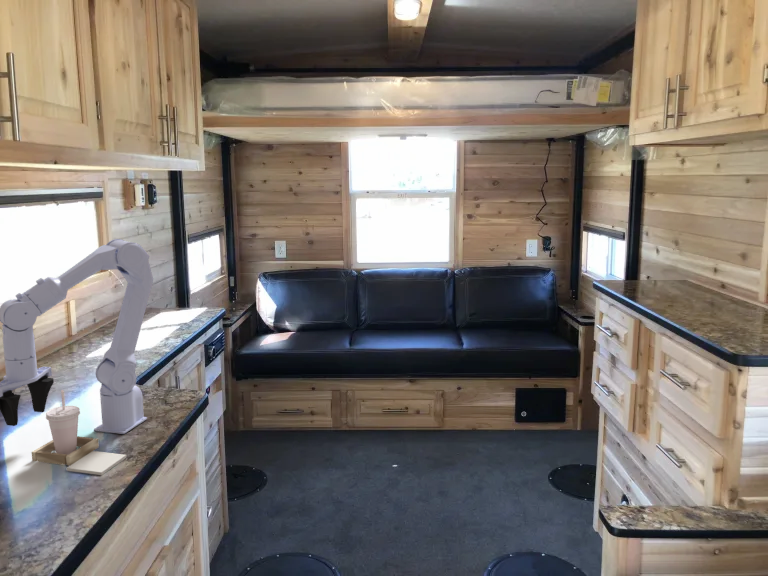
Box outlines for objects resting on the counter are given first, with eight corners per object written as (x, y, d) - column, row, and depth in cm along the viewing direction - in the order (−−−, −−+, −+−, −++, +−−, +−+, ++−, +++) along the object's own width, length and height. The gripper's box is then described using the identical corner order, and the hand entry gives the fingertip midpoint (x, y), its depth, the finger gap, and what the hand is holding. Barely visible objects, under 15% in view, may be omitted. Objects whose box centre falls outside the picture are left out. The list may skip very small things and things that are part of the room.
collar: (63, 443, 137) (62, 434, 136) (99, 447, 135) (98, 438, 135) (32, 461, 128) (31, 452, 128) (70, 465, 126) (69, 456, 126)
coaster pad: (93, 453, 132) (92, 450, 132) (126, 457, 130) (126, 454, 130) (66, 470, 124) (66, 467, 124) (101, 475, 123) (101, 472, 122)
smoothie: (88, 447, 135) (83, 386, 132) (74, 460, 128) (69, 396, 126) (58, 447, 135) (53, 386, 132) (43, 460, 128) (37, 396, 126)
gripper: (30, 346, 137) (35, 404, 140) (-25, 365, 123) (-19, 429, 126) (57, 348, 136) (62, 407, 138) (5, 368, 122) (11, 432, 124)
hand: (26, 418), depth 132 cm, fingers open, 7 cm apart
